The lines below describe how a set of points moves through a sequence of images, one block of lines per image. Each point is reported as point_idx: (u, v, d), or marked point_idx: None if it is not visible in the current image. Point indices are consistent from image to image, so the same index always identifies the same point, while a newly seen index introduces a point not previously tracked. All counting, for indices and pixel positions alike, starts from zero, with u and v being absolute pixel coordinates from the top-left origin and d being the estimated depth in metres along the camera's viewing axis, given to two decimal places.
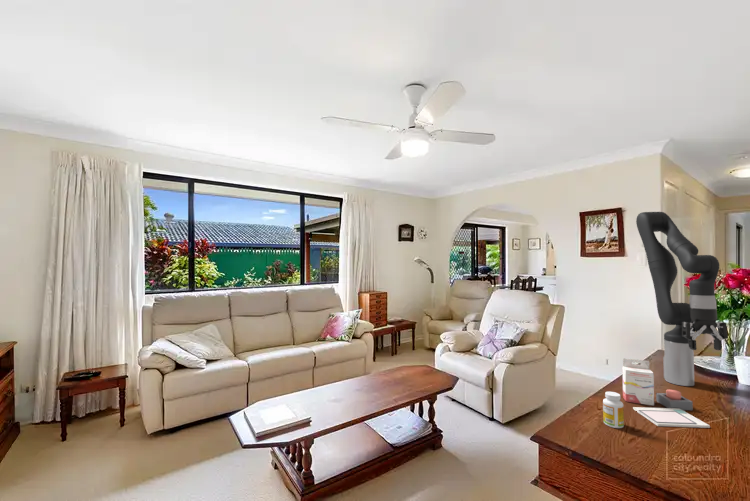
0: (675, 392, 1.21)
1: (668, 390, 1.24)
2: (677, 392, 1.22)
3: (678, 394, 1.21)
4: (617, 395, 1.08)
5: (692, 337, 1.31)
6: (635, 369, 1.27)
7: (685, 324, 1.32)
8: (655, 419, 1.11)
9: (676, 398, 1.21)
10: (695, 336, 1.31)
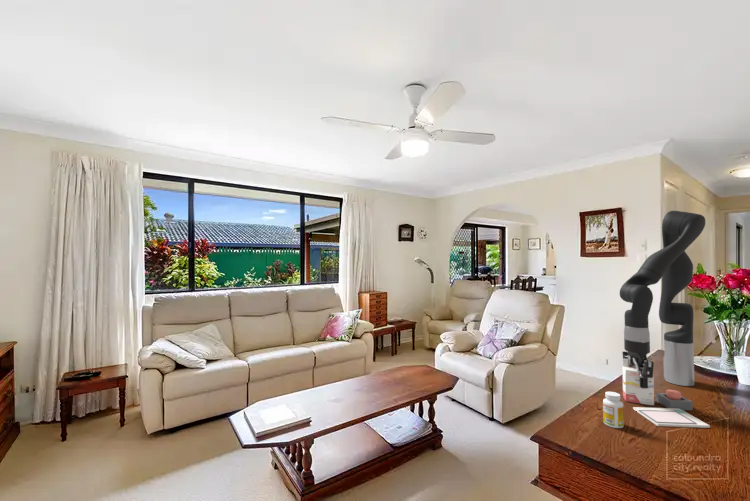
0: (675, 392, 1.21)
1: (668, 390, 1.24)
2: (677, 392, 1.22)
3: (678, 394, 1.21)
4: (617, 395, 1.08)
5: None
6: (635, 369, 1.27)
7: (651, 364, 1.20)
8: (655, 419, 1.11)
9: (676, 398, 1.21)
10: None
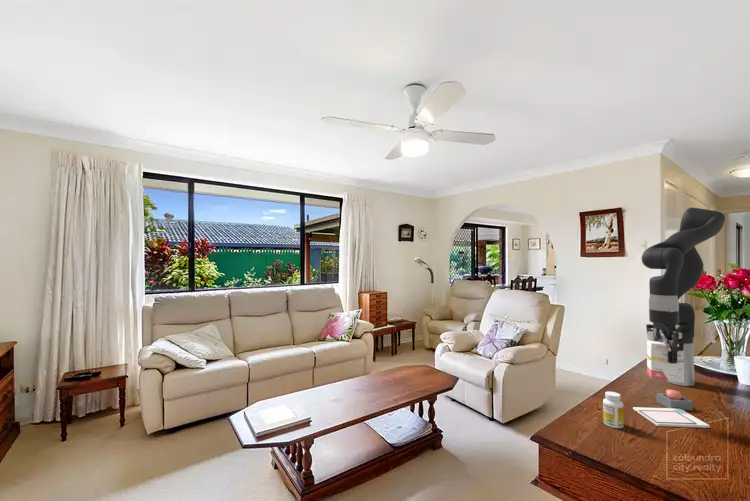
0: (675, 392, 1.21)
1: (668, 390, 1.24)
2: (677, 392, 1.22)
3: (678, 394, 1.21)
4: (617, 395, 1.08)
5: None
6: (662, 342, 1.13)
7: (681, 335, 1.06)
8: (655, 419, 1.11)
9: (676, 398, 1.21)
10: None
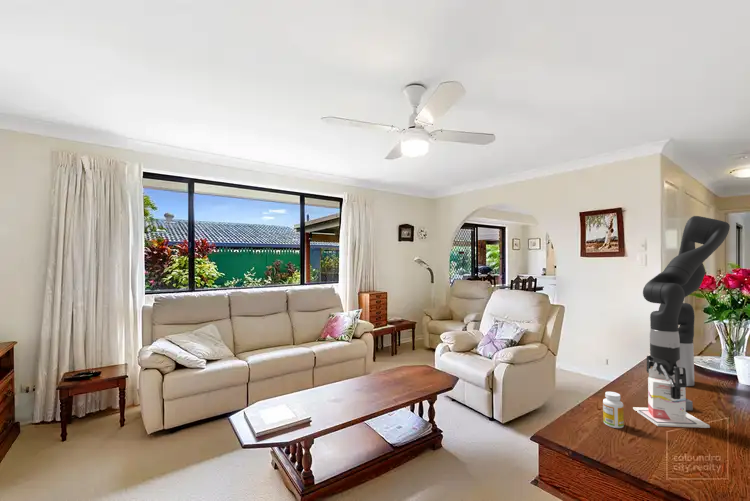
0: None
1: None
2: None
3: None
4: (617, 395, 1.08)
5: None
6: (663, 381, 1.12)
7: (683, 370, 1.06)
8: (655, 419, 1.11)
9: None
10: None
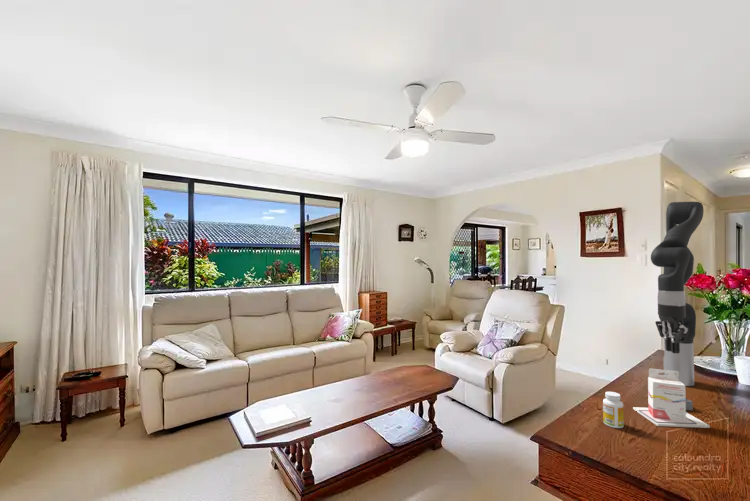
0: None
1: None
2: None
3: None
4: (617, 395, 1.08)
5: None
6: (663, 381, 1.12)
7: (687, 331, 1.17)
8: (655, 419, 1.11)
9: None
10: None
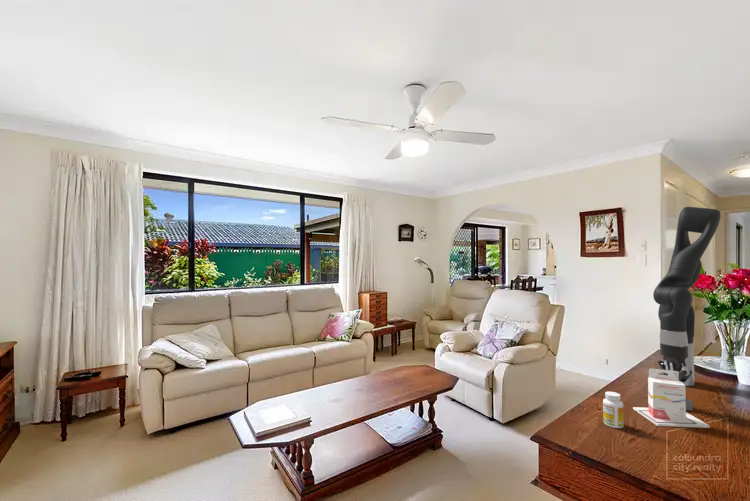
0: None
1: None
2: None
3: None
4: (617, 395, 1.08)
5: None
6: (663, 381, 1.12)
7: (689, 374, 1.17)
8: (655, 419, 1.11)
9: None
10: None
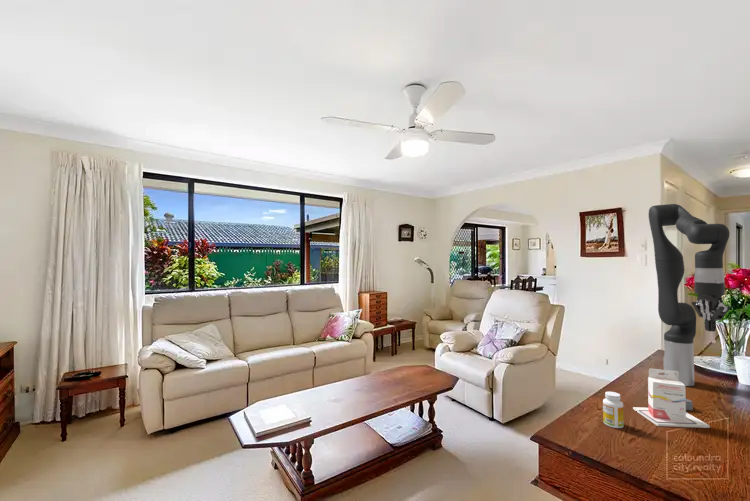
0: None
1: None
2: None
3: None
4: (617, 395, 1.08)
5: None
6: (663, 381, 1.12)
7: (726, 309, 1.14)
8: (655, 419, 1.11)
9: None
10: None
